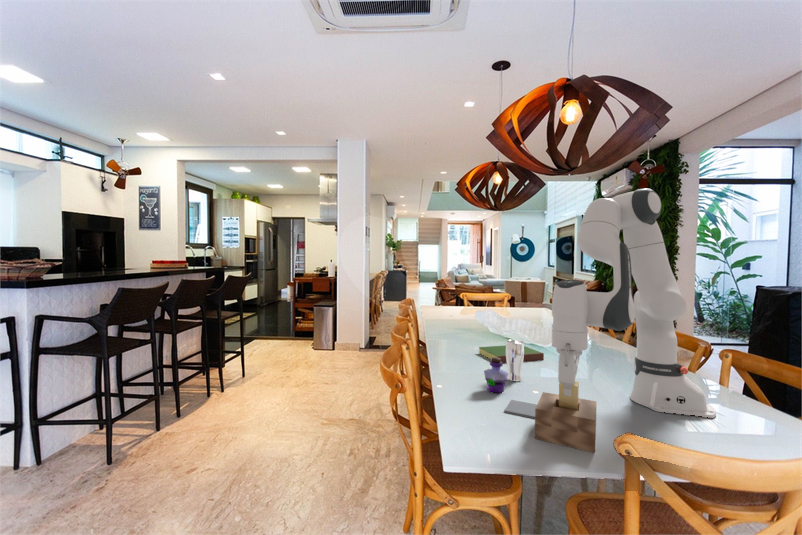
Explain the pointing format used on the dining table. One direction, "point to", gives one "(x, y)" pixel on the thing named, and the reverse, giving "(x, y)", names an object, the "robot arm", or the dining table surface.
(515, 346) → the beer glass
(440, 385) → the dining table surface
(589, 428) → the wooden slotted box
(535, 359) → the hardcover book
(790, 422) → the dining table surface
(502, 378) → the potion bottle
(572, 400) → the tan wooden block
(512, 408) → the slate pad
